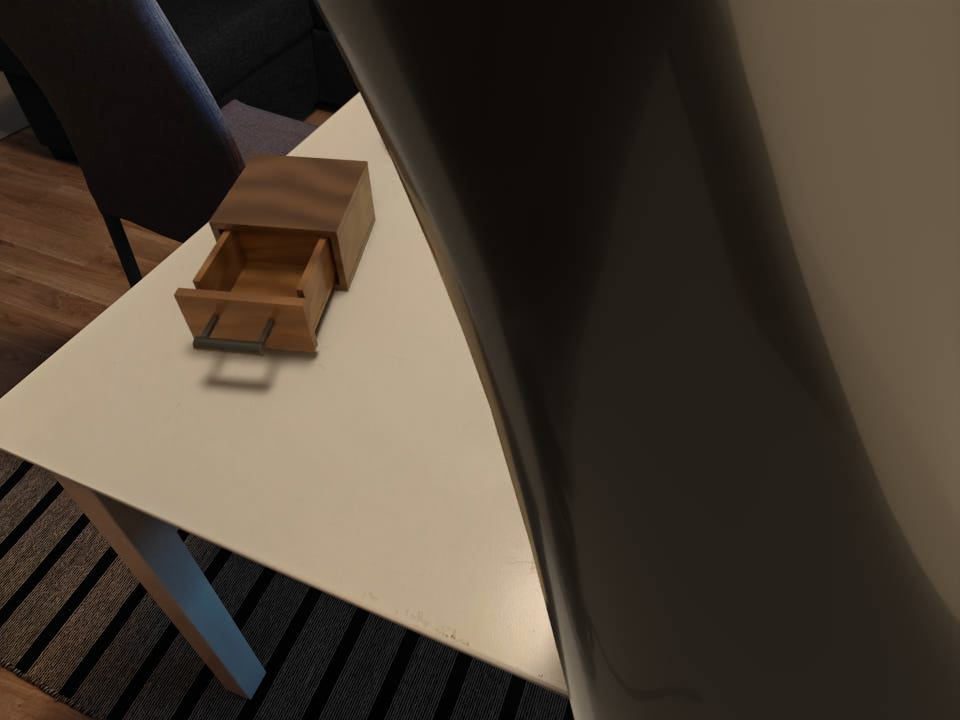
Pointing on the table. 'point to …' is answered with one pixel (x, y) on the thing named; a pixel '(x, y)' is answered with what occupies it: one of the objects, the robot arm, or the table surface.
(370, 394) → the table surface
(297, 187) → the cabinet
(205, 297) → the drawer
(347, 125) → the table surface
